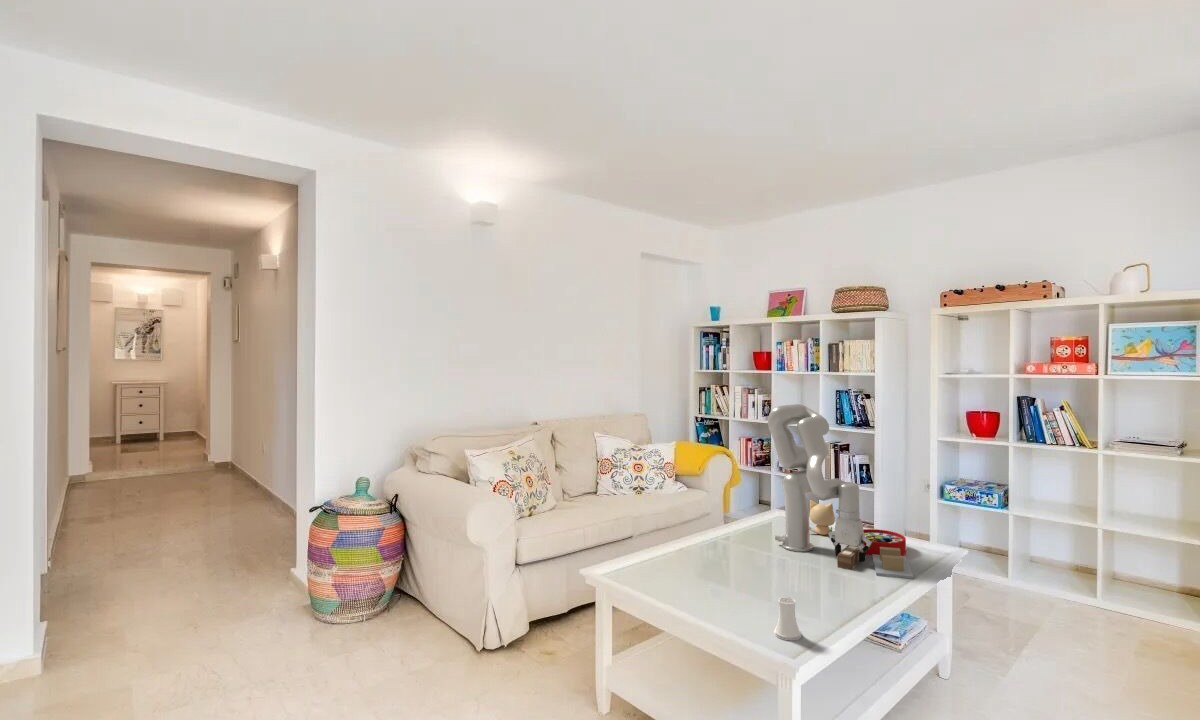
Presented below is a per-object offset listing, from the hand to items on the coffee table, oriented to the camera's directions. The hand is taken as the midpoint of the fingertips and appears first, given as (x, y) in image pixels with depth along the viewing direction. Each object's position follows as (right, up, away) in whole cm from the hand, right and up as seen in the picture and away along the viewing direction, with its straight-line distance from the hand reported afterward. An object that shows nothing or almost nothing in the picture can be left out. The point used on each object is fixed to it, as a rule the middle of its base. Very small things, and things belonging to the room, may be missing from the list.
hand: (850, 558), depth 237 cm
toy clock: (+18, -2, +15) cm, 24 cm away
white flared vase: (-43, -3, -60) cm, 73 cm away
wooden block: (0, -2, 0) cm, 2 cm away
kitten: (+4, -2, +38) cm, 38 cm away
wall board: (+13, -1, -6) cm, 15 cm away
